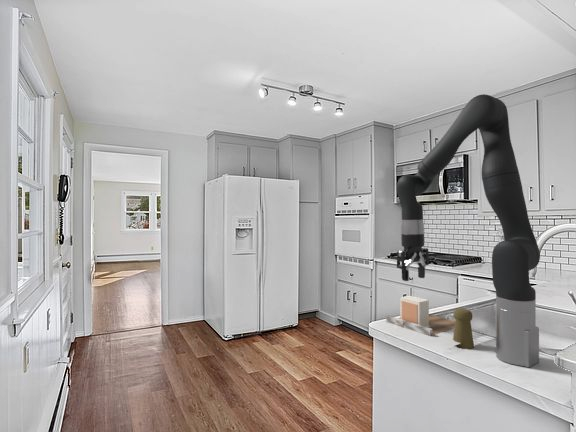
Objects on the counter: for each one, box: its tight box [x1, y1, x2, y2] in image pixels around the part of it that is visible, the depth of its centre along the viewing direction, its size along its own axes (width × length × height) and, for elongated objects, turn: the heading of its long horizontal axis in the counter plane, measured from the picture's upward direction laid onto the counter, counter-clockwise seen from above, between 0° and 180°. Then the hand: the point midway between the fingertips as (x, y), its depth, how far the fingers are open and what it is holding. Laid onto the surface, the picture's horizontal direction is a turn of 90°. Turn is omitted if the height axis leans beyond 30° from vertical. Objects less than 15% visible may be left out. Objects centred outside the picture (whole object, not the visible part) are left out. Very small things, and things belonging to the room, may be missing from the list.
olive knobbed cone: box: [452, 308, 475, 350], centre depth 109 cm, size 6×6×11 cm
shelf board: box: [385, 313, 456, 337], centre depth 126 cm, size 18×20×4 cm
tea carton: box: [399, 295, 430, 327], centre depth 124 cm, size 8×5×9 cm, turn 33°
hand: (413, 279), depth 124 cm, fingers open, 8 cm apart
